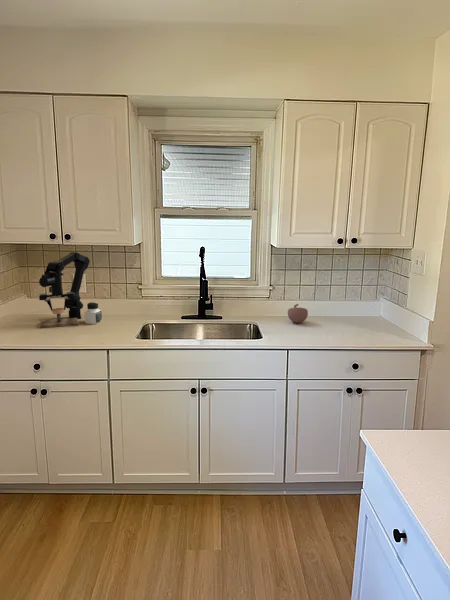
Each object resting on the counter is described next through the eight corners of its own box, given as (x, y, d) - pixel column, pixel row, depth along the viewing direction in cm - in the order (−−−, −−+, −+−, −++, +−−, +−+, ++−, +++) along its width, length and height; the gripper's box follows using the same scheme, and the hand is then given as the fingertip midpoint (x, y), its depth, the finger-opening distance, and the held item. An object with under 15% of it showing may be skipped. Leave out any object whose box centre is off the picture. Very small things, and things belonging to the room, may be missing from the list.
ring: (64, 310, 241) (64, 307, 241) (64, 313, 235) (64, 310, 235) (52, 311, 239) (52, 308, 239) (52, 314, 233) (52, 310, 233)
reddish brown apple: (305, 320, 254) (306, 302, 252) (308, 325, 242) (309, 306, 240) (286, 319, 254) (286, 302, 252) (288, 325, 243) (289, 306, 240)
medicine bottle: (96, 324, 239) (95, 304, 237) (85, 323, 240) (83, 303, 238) (102, 321, 246) (101, 301, 244) (91, 320, 247) (89, 301, 245)
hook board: (77, 320, 247) (76, 309, 246) (77, 325, 237) (77, 314, 235) (41, 322, 241) (40, 312, 239) (39, 328, 230) (39, 317, 228)
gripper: (73, 280, 244) (75, 306, 247) (39, 282, 238) (41, 308, 241) (73, 284, 234) (75, 310, 237) (38, 285, 227) (40, 313, 231)
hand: (58, 310), depth 237 cm, fingers closed on ring, 6 cm apart
